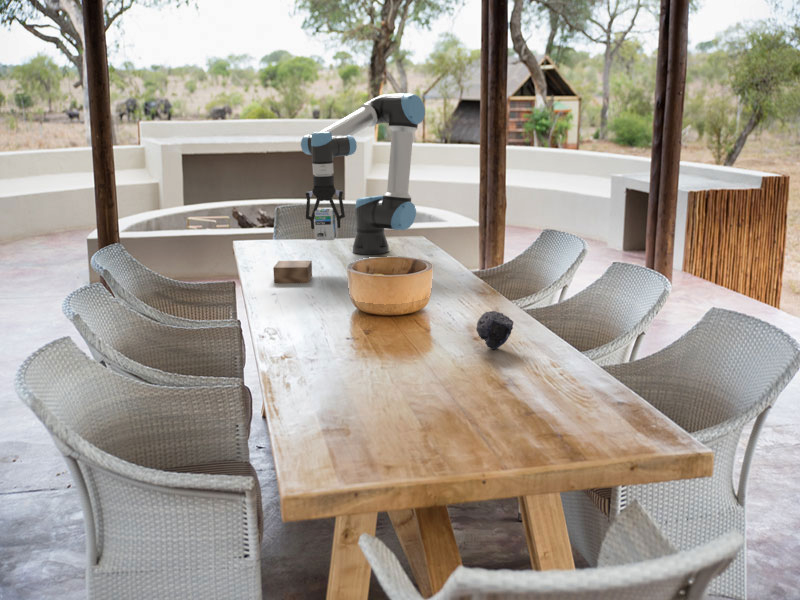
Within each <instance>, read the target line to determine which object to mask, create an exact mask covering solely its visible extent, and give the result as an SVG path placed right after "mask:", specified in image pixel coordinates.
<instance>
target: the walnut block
mask: <svg viewBox="0 0 800 600" xmlns="http://www.w3.org/2000/svg"><path fill="white" fill-rule="evenodd" d="M312 264H313V261H312V260H277V263H276V264H275V265H274V266H273V284H274V283H278V284H309V283H308V282H310V281H311V279H312V277H313V265H312ZM309 280H310V281H309Z"/></svg>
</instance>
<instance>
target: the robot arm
mask: <svg viewBox="0 0 800 600" xmlns="http://www.w3.org/2000/svg"><path fill="white" fill-rule="evenodd" d="M425 116H426V109H425V103H424V101H423V100H422V98H421V97H420V96H419V95H417V94H415V93H405V92H404V93H383V94H381V95H378V96H376V97H373V98H372V99H370V100H367V101H366V102H364V103H363V104H361V105H360V106H359V107H358V109H357V110H355V111H353V112H352V113H349V114H348V115H347V116H345V117H343V118H341V119H340V120H337V121H336V122H334V123H333V124H330V125H329V126H327V127H325V128H324V129H322V130H321V131H314V132H312V133H311V134H310V133H309V134H306V135H304V136H303V137H302V138H301V141H300V147H301V150H302V152H303V153H304V154H305V155H309V156H311V160H312V161H311V162H312V175H313V177H312V179H313V180H312V183H313V188H312V190H310V191H305V197H306V207H305V219H306V220H309V221H310V228H311V230H314V231H313V232H314V239H316V226H315V211H316V210H317V209H318V208H319V205H320V202H324V201H327V202H329V203H330V206H331V208H333V211H334V213H335V233H336V237H335V238H339V236H338V235H339V233H338V231H339V229H341V219H344V218H345V217H346V214H345V209H344V203H343V194H344V192H343V190H342V189H341V190H339V189H336V188H335V176H334V175H333V174H334V173H335V172H334V158H339V157H348V156H352V155H354V154H355V153H356V151H357V147H358V146H357V141H356V138H355V137H354V135H355V134H358V133H359V132H361V131H362V130H364V129H366V128H367V127H369V128H371V127H375V126H376V125H379V124H388V128H389V130H390V131H391V139H390V140H391V141H390V149H389V150H390V153H389V162H388V174H387V175H388V176H387V188H386V192H385V193H383V194H382V195H372V196H365V197H364V196H363V197H359V198H357V199H356V201H355V222H356V223H355V224H356V225H355V226H356V227H355V228H356V234H355V238H354V241H353V245H352V253H353V254H357V255H358V254H360V255H381V254H385V253H388V252H389V250H390V249H389V248H390V247H389V243H388V239H387V237H386V234H385V230H386V229H387V230H394V231H405V230H409V228H411V226H413V224H414V222H415V220H416V217H417V209H416V206H415V205H416V204H414V203H413V202H412V196H411V195H410V194H409V189H410V187H409V186H410V173H411V164H412V163H411V162H412V154H413V153H412V151H413V141H414V134H415V132H416V131H418V125H419V124H421V123H422V122H423V120H424V119H425ZM335 194H336V196H337V197H338V203H339V209H340V213H339V211H338V209H337V207H336V205H335V202H334V200H333V197H334V195H335ZM312 195H314V197H315V198H316V200H315V203H314V206H313V209H312V213H311V215H310V207H311V198H312Z"/></svg>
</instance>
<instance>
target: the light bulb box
mask: <svg viewBox="0 0 800 600" xmlns="http://www.w3.org/2000/svg"><path fill="white" fill-rule="evenodd" d="M335 219H336V215H335V213H334V211H333V208H332V207H318V209H317V210H316V211H315V218H314V220H315V226H316V238H315V239H316V241H335V238H336V233H335Z"/></svg>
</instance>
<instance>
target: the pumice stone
mask: <svg viewBox="0 0 800 600" xmlns="http://www.w3.org/2000/svg"><path fill="white" fill-rule="evenodd" d="M513 325H514V321H513V320H512V319H511V318H510V317H509V316H507V315H505V314H504V313H503V312H499V311H495V310H492V311H491V310H490V311H486V312H484V313H483V314H481V316H480V318H479V319H478V320H477V323H476V327H475V329H476V332H477V334H478V337H479V338H480V339H481V340H482V341H484V343H485V345H486V348H489V349H492V350H496V349H499V348H500V347H501V346H503V345H504V344H505V343H506V342H507V340H508V339H509V337H510V336H511V333H512V330H513V329H514V328H513Z"/></svg>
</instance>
